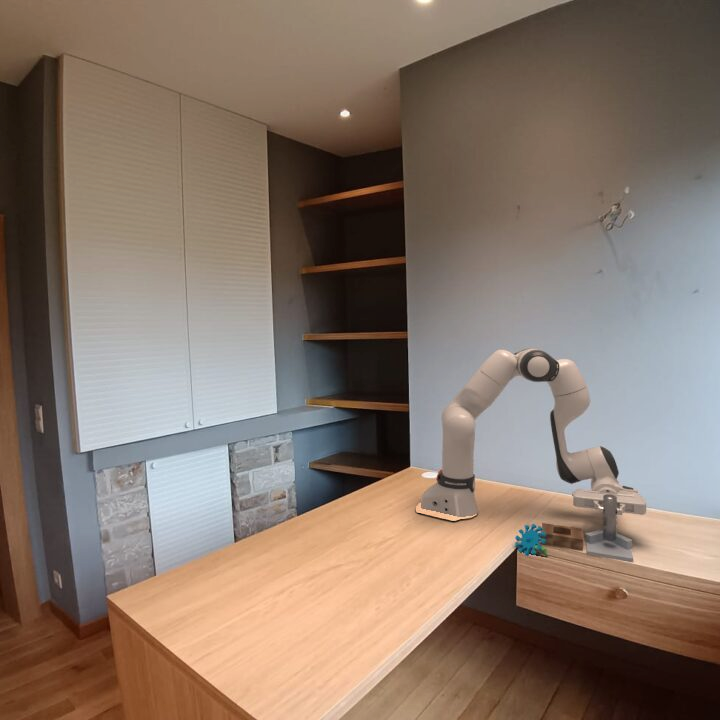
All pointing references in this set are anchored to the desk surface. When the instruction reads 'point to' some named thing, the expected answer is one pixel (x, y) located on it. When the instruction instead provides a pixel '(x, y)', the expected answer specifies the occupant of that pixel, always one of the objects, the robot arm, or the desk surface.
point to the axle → (609, 517)
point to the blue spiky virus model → (531, 540)
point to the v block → (609, 546)
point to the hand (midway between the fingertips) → (610, 511)
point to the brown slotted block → (563, 536)
